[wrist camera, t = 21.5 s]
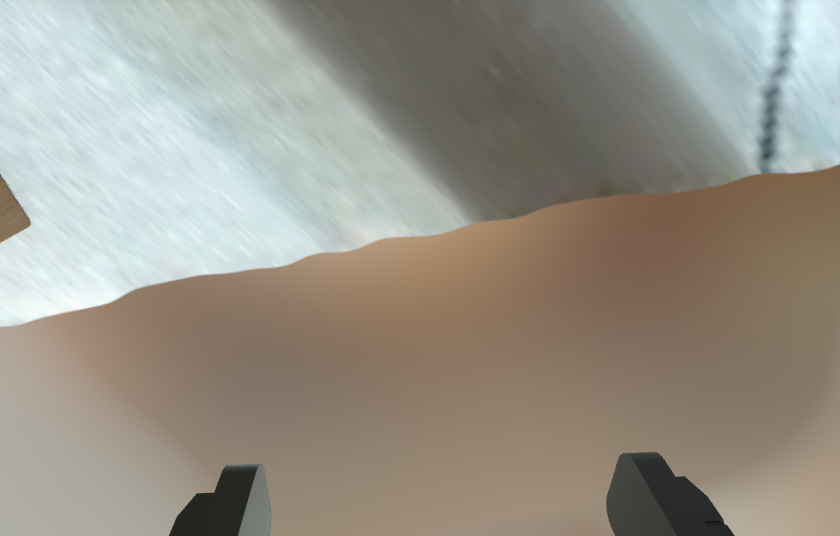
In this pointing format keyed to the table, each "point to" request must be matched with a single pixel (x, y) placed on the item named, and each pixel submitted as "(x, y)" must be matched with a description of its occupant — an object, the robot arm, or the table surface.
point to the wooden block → (10, 214)
